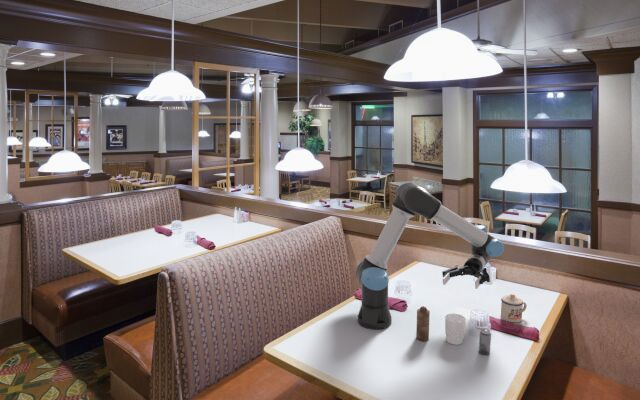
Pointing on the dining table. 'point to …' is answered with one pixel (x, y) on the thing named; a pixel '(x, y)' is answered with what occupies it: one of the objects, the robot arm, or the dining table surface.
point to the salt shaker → (484, 342)
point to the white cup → (454, 328)
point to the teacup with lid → (512, 308)
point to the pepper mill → (422, 324)
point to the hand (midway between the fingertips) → (459, 283)
